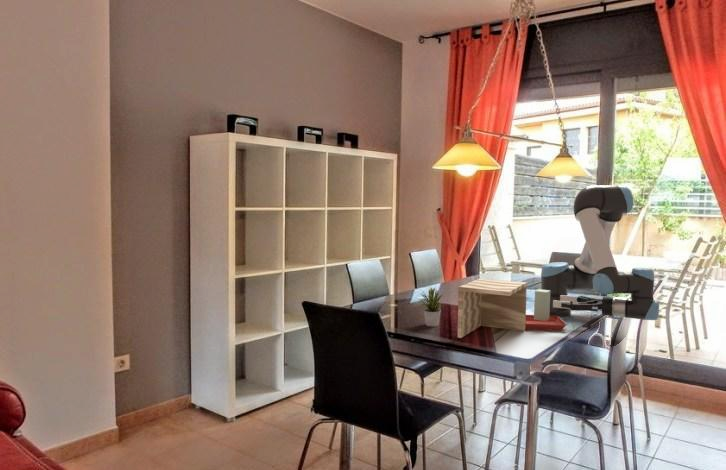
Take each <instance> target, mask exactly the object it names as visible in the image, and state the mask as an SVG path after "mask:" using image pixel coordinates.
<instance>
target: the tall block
mask: <svg viewBox="0 0 726 470" xmlns="http://www.w3.org/2000/svg"><path fill="white" fill-rule="evenodd" d="M549 313H550V290H542V289H541V288H538V289H536V290H535V291H534V310H533V315H534V320H541V321H547V320H548V319H549Z"/></svg>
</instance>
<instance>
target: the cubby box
mask: <svg viewBox="0 0 726 470" xmlns="http://www.w3.org/2000/svg"><path fill="white" fill-rule="evenodd" d="M527 283H528V282H525V281H512V280H500V279H491V278H490V279H488V278H478V279H475V280H472V281H470V282H467V283H465V284H463V285H459V286H458V291H457V292H458V293H457V296H458V298H457V303H458V304H457V338H459V339H462V338H464V337H465V336H467V335H468V334H470V333H471V332H473V331H475V330H476V329H478V328H480V327H489V328H495V329H496V328H497V329H503V330H511V331H519V332H526V330H527V329H526V315H527Z"/></svg>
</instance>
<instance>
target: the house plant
mask: <svg viewBox="0 0 726 470" xmlns="http://www.w3.org/2000/svg"><path fill="white" fill-rule="evenodd" d="M418 295H420V296H423V299H419V298H418V300H420V301H418V303H421V306H424V307H425V309H423V313H424V314H423V315H424V321H425V322H424V323H425V326H427V327H438V326H439V322H440V317H441V309H439V308H440V307H443V305H441V302H443V300H441V301H440V299H441V297H442V296H444V293H442V294H441V295H439V290H437V289H436V287H434V288H432V287H431V286H430V288H429V289H428V296H427V295H426V293H425V291H423V290H422V289H420V294H418ZM418 303H417V304H418Z"/></svg>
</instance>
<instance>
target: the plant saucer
mask: <svg viewBox="0 0 726 470" xmlns="http://www.w3.org/2000/svg"><path fill="white" fill-rule="evenodd" d="M566 326H567V324H566V323H565V322H564V320H563V319H562V318H561V316H549V319H548V320H547V321H541V320H534V314H526V329H525V330H529V331H530V330H531V331H555V332H556V331H557V332H559V331H560V332H561V331H562V330H564V329H565V327H566Z"/></svg>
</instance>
